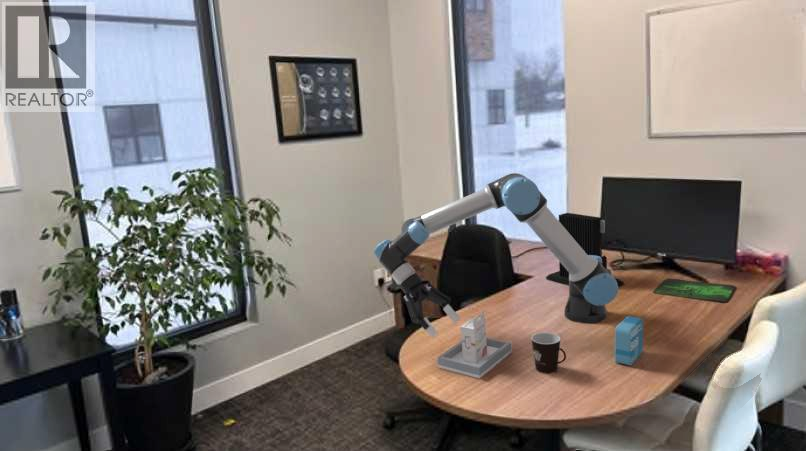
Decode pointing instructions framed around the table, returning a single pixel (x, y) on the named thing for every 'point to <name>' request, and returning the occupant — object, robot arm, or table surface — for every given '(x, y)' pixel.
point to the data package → (628, 340)
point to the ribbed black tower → (582, 241)
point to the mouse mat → (695, 290)
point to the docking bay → (494, 355)
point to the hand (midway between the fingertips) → (446, 328)
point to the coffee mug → (546, 352)
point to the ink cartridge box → (474, 339)
